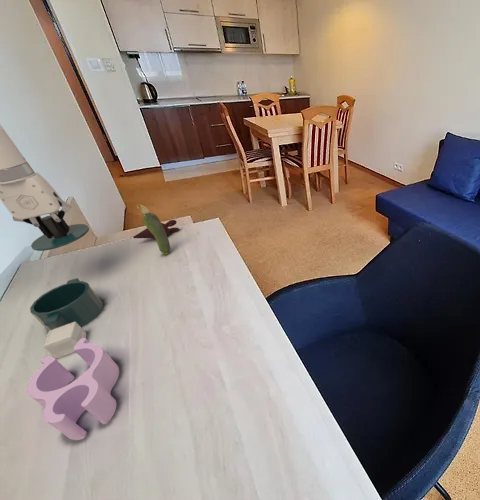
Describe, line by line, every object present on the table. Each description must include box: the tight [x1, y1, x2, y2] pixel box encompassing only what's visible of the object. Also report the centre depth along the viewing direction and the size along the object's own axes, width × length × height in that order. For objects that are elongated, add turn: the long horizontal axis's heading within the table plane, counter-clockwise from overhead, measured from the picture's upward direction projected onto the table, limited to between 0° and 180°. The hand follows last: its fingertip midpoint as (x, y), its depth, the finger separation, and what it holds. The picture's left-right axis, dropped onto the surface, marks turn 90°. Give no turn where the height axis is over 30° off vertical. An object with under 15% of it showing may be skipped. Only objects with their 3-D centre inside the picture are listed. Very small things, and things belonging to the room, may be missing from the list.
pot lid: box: [30, 215, 90, 252], centre depth 86 cm, size 13×13×7 cm
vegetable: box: [136, 204, 171, 256], centre depth 100 cm, size 4×4×20 cm
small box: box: [42, 322, 87, 359], centre depth 74 cm, size 6×6×5 cm
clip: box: [26, 337, 120, 441], centre depth 61 cm, size 20×12×7 cm, turn 43°
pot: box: [29, 277, 104, 332], centre depth 81 cm, size 12×18×8 cm
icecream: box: [133, 219, 180, 239], centre depth 114 cm, size 7×7×15 cm
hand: (59, 233), depth 87 cm, fingers closed on pot lid, 2 cm apart
